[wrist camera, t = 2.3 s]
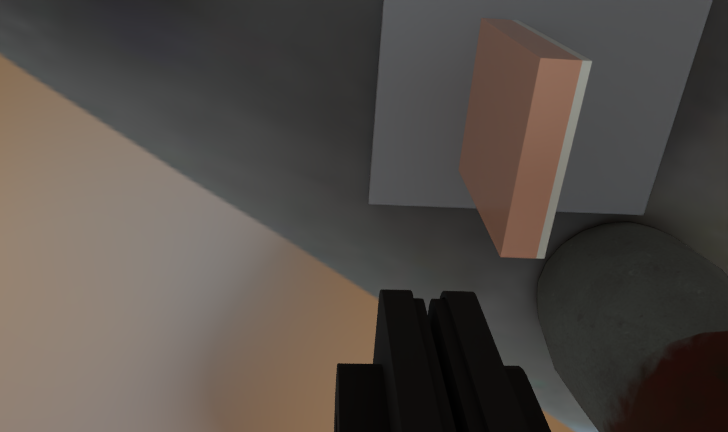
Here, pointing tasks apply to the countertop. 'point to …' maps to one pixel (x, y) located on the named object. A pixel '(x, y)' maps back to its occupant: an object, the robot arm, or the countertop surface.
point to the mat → (598, 110)
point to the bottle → (638, 330)
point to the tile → (520, 132)
